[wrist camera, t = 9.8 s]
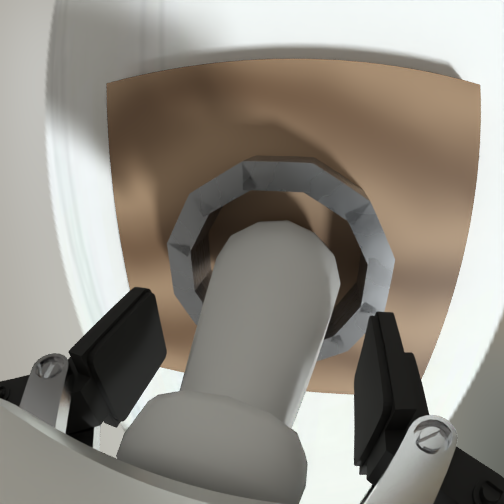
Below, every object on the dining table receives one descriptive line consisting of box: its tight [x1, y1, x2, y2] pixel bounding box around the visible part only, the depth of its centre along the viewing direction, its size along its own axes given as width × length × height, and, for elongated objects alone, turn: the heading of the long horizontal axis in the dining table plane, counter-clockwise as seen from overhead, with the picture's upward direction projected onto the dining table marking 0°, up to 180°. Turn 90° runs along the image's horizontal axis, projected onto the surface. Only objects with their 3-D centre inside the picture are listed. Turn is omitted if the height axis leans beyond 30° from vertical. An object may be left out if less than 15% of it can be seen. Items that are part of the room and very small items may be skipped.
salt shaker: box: [116, 220, 340, 504], centre depth 10 cm, size 6×6×13 cm
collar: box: [167, 155, 395, 361], centre depth 15 cm, size 10×10×2 cm
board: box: [107, 59, 481, 394], centre depth 17 cm, size 20×20×2 cm
